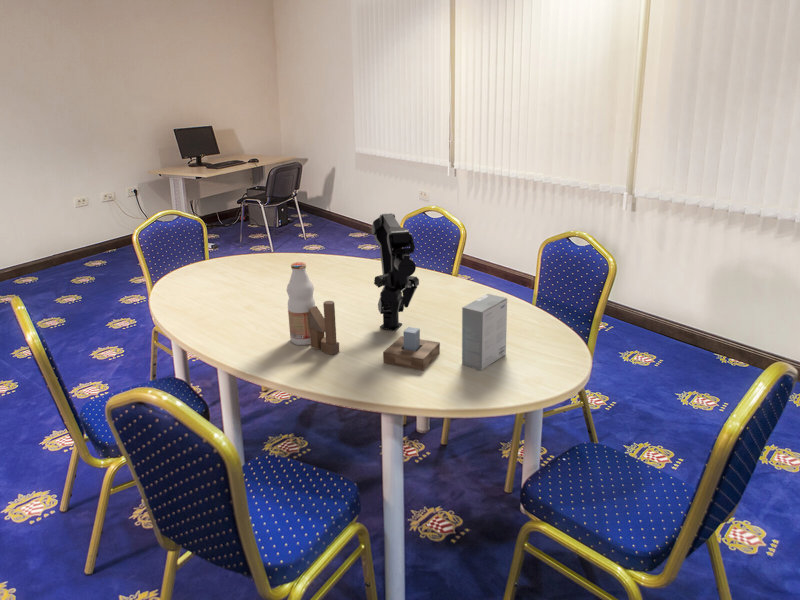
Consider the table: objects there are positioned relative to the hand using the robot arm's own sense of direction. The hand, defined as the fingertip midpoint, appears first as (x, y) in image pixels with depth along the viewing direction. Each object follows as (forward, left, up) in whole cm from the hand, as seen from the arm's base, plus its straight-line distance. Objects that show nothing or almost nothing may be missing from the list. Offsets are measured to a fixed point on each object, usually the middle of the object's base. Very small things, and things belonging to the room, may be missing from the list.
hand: (400, 311), depth 213 cm
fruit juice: (+10, -33, -12) cm, 37 cm away
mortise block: (+9, +8, -12) cm, 17 cm away
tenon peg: (+9, +8, -11) cm, 16 cm away
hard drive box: (+1, +30, -12) cm, 32 cm away
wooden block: (+14, -22, -12) cm, 29 cm away
